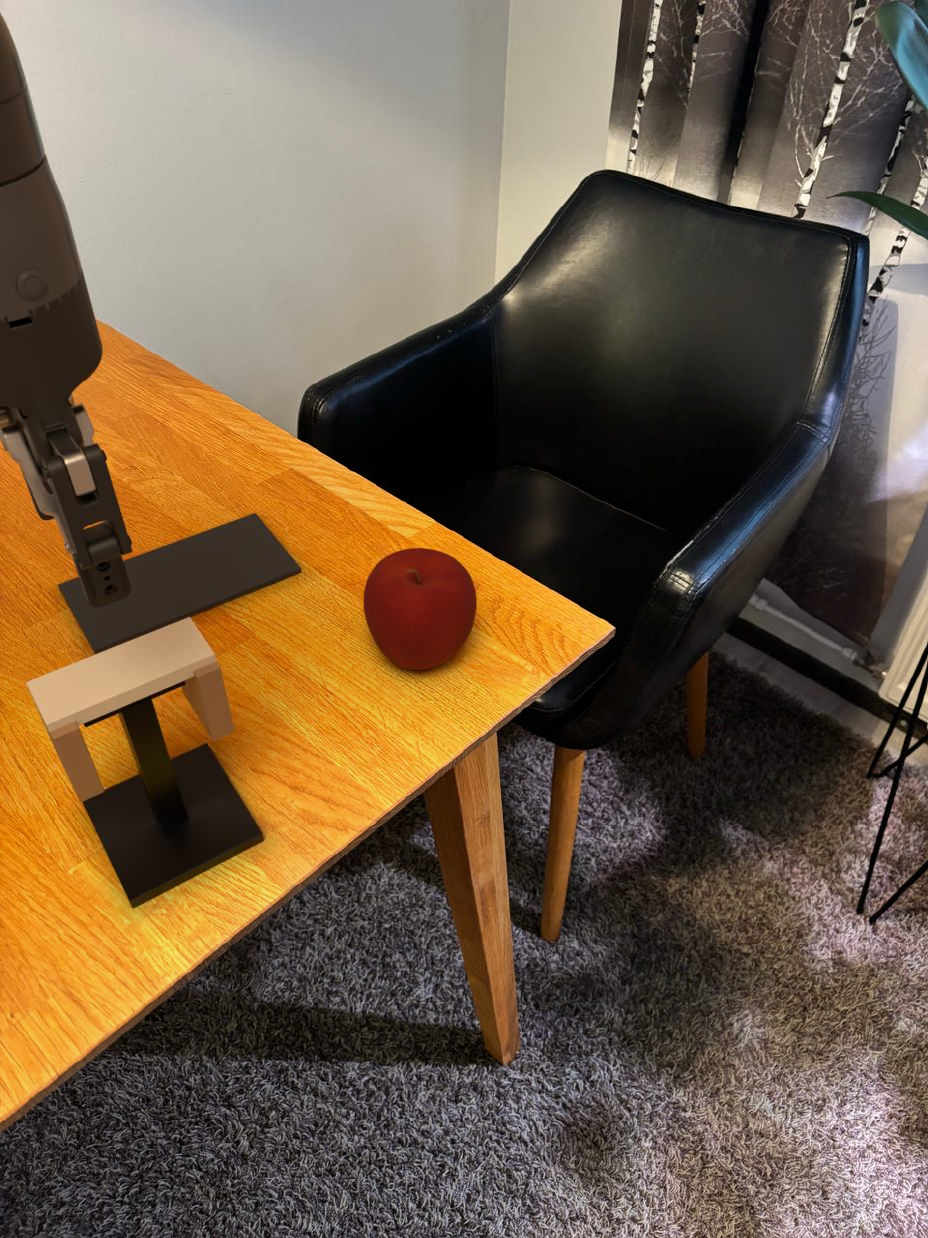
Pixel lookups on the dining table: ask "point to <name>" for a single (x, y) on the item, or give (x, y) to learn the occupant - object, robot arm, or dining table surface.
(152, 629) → the mat
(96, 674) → the beige wooden bench
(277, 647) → the dining table surface
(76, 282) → the robot arm
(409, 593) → the apple
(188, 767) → the stand
